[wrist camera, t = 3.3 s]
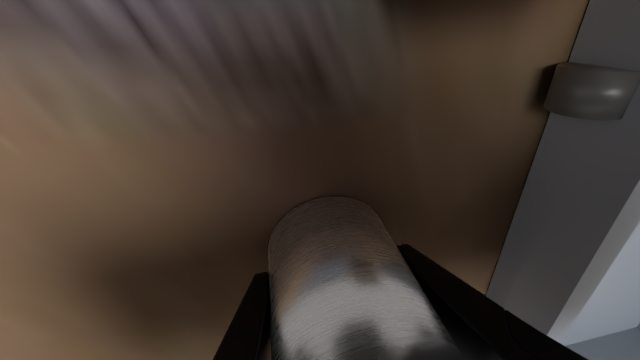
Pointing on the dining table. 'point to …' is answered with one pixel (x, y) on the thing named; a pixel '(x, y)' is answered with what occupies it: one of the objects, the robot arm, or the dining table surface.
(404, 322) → the cylinder
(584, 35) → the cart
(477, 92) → the dining table surface
